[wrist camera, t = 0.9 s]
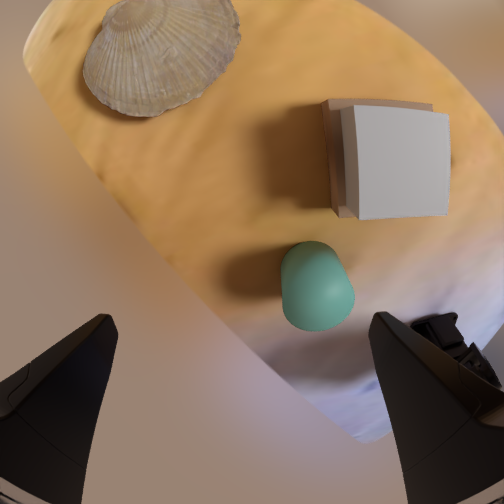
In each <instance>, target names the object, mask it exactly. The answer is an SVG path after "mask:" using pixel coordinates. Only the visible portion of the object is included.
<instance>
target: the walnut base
mask: <svg viewBox="0 0 504 504" xmlns="http://www.w3.org/2000/svg"><path fill="white" fill-rule="evenodd" d="M352 105H366V106H384V107H397V108H407V109H416V110H424V111H431V112H433V106H432V104H426V103H417V102H407V101H395V100H378V99H328V100H326V101H324V102H322V103H321V107H322V115H323V122H324V130H325V138H326V147H327V157H328V168H329V180H330V193H331V208H332V209H333V211H334V212H335V213H336V215H337V216H338V217H339V218H344V217H355V215H354V214H353V213H352V212H351V211H350V210H349V209H348V208H347V206H346V183H345V162H344V147H343V134H342V124H341V114H340V109H343V108H346V107H349V106H352Z"/></svg>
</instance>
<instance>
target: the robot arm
mask: <svg viewBox="0 0 504 504" xmlns="http://www.w3.org/2000/svg"><path fill="white" fill-rule="evenodd" d="M457 318H458V315H457V314H456V313H451V314H447V315H443V316H439V317H435V318H431V319H427V320H423V321H418V322H414V323H413V324H412V325H411V327H408V326H407V325H405V324H404V323H402V322H401V321H399V320H398V319H397V318H395V317H394V316H392V315H391V314H389V313H388V312H385V311H384V312H376V313H375V314H374V316H373V319H372V322H371V325H370V328H369V340H370V345H371V349H372V354H373V359H374V364H375V369H376V373H377V377H378V380H379V383H380V387H381V390H382V393H383V397H384V400H385V403H386V407H387V410H388V414H389V418H390V421H391V425H392V429H393V433H394V437H395V440H396V445H397V449H398V454H399V458H400V462H401V467H402V472H403V477H404V483H405V488H406V494H407V500H408V504H504V392H503V391H501V390H500V389H501V388H502V385H501V383H500V381H499V379H498V377H497V375H496V373H495V371H494V369H493V368H492V366H491V365H490V363H489V361H488V360H487V359H486V357H485V356H484V354H483V353H482V352H481V350H480V349H479V348H478V347H477V346H476V344H475V343H474V342H473V343H472V344H471V345H470V347H469V348H468V347H467V345H466V344H465V342H464V341H463V340H464V337H463V336H462V335H461V333H460V332H459V330H458V329H457V327H456V326H455V324H456V321H457ZM117 340H118V331H117V329H116V326H115V324H114V321H113V319H112V316H111V315H109V314H98V315H97V316H95V317H94V318H93V319H91V320H90V321H88V322H87V323H85V324H84V325H82V326H81V327H79V328H78V329H76V330H75V331H73V332H72V333H71V334H69V335H68V336H66V337H65V338H63V339H62V340H61V341H59V342H58V343H56V344H55V345H53V346H52V347H51V348H49V349H48V350H46V351H45V352H43V353H42V354H41V355H39V356H38V357H36V358H35V359H34V360H32V361H31V363H28V364H27V365H26V366H24V367H22V368H21V369H20V370H18V371H17V372H15V373H14V374H12V375H11V376H9V377H8V378H6V379H5V380H3V381H2V382H0V504H81V501H82V494H83V486H84V481H85V475H86V468H87V463H88V458H89V453H90V449H91V444H92V439H93V435H94V431H95V427H96V423H97V418H98V415H99V411H100V407H101V404H102V400H103V397H104V393H105V390H106V386H107V383H108V380H109V376H110V372H111V368H112V363H113V359H114V353H115V349H116V345H117Z"/></svg>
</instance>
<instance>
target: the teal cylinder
mask: <svg viewBox="0 0 504 504" xmlns="http://www.w3.org/2000/svg"><path fill="white" fill-rule="evenodd" d="M281 286H282V304H283V312H284V314H285V316H286V318H287V320H288V321H289V322H290V323H291V324H292V325H294V326H295V327H297V328H299V329H302V330H306V331H323V330H327V329H330V328H332V327H334V326H336V325H338V324H340V323H341V322H342V321H343V320H344V319H345V318H346V317H347V316H348V315H349V314H350V312H351V310H352V308H353V305H354V300H355V294H354V290H353V287H352V285H351V283H350V281H349V279H348V277H347V275H346V272H345V270H344V268H343V266H342V264H341V262H340V260H339V258H338V256H337V254H336V252H335V251H334V250H333V249H332V248H331V247H330V246H328V245H326V244H325V243H322V242H318V241H307V242H303V243H300V244H297V245H296V246H294V247H293V248H291V249H290V250H289V251H288V252H287V253H286V255H285V256H284V258H283V260H282V263H281Z"/></svg>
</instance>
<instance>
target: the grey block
mask: <svg viewBox="0 0 504 504" xmlns="http://www.w3.org/2000/svg"><path fill="white" fill-rule="evenodd" d="M340 114H341V124H342V134H343V147H344V162H345V183H346V206H347V208H348V209H349V210H350V211H351V212H352V213H353V214H354V215H355V216H356V217H357V218H358V219H359V220H369V219H385V218H402V217H421V216H443V215H448V204H449V190H450V127H449V114H443V113H437V112H431V111H424V110H416V109H407V108H397V107H384V106H366V105H352V106H349V107H346V108H343V109H340Z"/></svg>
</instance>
